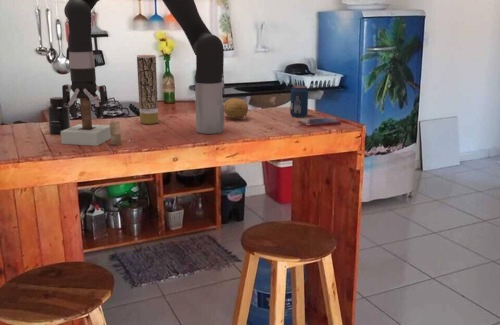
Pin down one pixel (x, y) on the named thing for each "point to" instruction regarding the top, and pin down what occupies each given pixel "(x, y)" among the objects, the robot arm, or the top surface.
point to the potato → (235, 108)
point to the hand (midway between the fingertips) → (86, 117)
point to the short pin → (115, 133)
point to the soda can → (299, 101)
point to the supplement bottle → (58, 115)
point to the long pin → (86, 114)
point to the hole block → (86, 135)
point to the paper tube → (147, 88)
